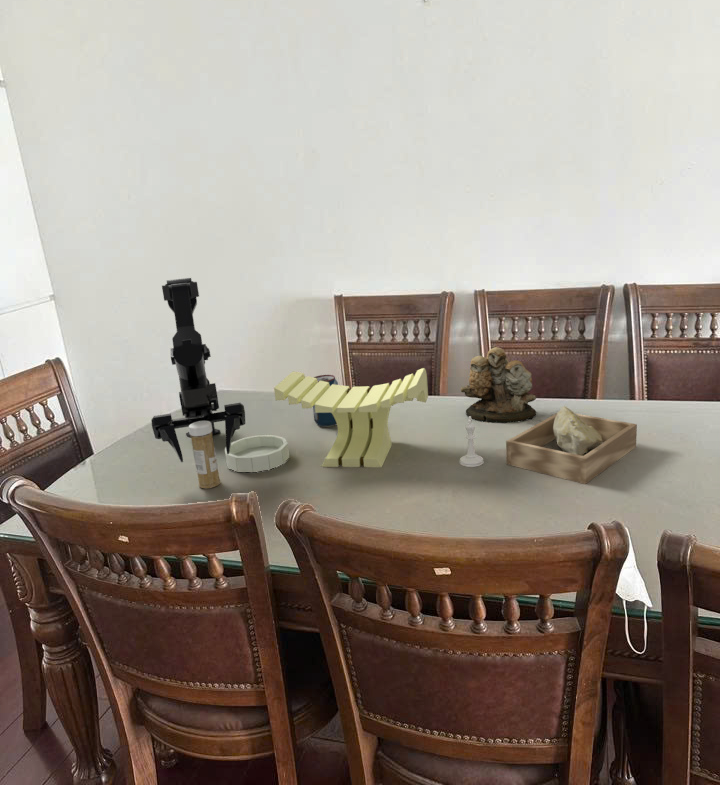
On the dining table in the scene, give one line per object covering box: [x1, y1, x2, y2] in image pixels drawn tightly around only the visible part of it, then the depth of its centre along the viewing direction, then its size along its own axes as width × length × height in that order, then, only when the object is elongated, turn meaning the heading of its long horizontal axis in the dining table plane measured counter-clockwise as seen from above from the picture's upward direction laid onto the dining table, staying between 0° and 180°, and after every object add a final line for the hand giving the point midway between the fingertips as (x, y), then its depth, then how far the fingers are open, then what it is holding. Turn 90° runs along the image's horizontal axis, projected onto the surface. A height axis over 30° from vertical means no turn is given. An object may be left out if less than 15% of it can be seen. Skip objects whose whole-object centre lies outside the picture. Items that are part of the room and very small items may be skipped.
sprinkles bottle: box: [188, 421, 221, 489], centre depth 137 cm, size 5×5×13 cm
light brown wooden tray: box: [505, 412, 638, 485], centre depth 137 cm, size 17×22×5 cm
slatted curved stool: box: [273, 367, 429, 468], centre depth 147 cm, size 30×16×18 cm, turn 78°
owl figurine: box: [460, 346, 537, 424], centre depth 163 cm, size 18×12×17 cm, turn 75°
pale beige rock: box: [553, 405, 603, 456], centre depth 138 cm, size 15×7×15 cm
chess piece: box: [459, 416, 485, 468], centre depth 137 cm, size 5×5×10 cm
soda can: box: [312, 374, 339, 428], centre depth 169 cm, size 7×7×12 cm
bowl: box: [224, 434, 290, 473], centre depth 149 cm, size 14×14×4 cm
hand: (205, 457), depth 136 cm, fingers open, 9 cm apart
